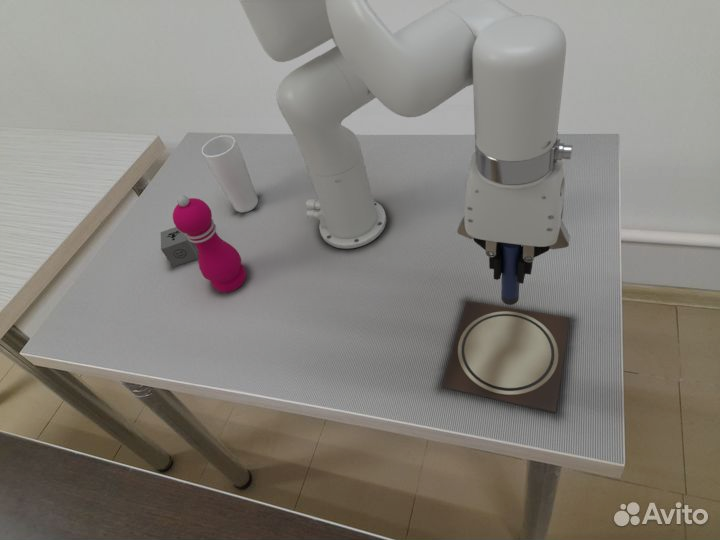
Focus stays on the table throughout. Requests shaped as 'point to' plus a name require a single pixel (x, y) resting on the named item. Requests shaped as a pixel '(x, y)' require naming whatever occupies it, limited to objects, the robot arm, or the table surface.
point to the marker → (510, 273)
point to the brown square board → (508, 355)
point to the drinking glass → (230, 172)
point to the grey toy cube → (177, 247)
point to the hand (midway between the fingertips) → (510, 272)
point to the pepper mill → (209, 245)
